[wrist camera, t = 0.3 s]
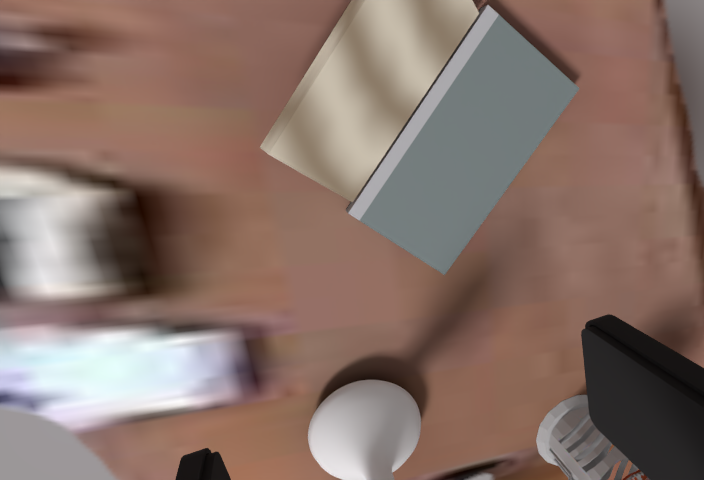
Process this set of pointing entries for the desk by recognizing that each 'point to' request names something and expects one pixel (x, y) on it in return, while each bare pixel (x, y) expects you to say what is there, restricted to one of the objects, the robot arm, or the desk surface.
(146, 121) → the desk surface
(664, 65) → the desk surface
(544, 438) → the french press
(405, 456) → the flower in vase
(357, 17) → the plank
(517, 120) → the grey rectangular panel
